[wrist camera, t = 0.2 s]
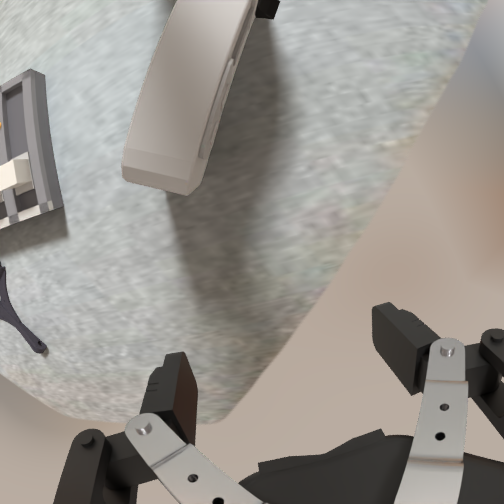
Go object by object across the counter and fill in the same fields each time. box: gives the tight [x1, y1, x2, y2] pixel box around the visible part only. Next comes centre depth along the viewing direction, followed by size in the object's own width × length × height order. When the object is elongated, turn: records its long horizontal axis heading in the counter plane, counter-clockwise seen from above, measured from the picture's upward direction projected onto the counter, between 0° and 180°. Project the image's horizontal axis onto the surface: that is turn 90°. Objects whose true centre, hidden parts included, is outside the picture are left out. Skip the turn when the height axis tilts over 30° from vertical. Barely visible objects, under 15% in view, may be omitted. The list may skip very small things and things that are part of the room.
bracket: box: [0, 262, 46, 353], centre depth 40 cm, size 14×15×3 cm
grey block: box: [121, 0, 280, 196], centre depth 26 cm, size 29×8×18 cm, turn 164°
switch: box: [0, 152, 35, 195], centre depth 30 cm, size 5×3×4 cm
